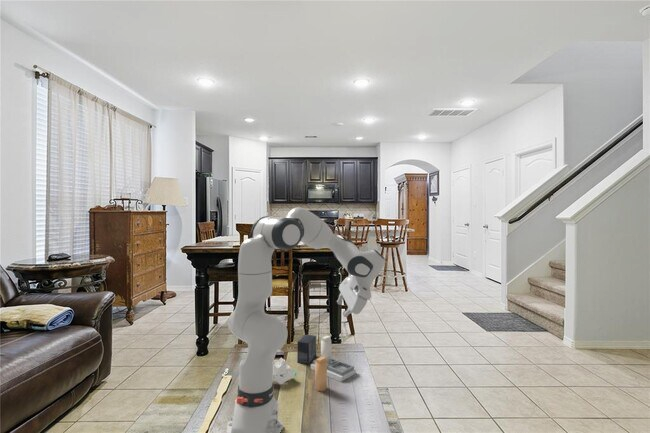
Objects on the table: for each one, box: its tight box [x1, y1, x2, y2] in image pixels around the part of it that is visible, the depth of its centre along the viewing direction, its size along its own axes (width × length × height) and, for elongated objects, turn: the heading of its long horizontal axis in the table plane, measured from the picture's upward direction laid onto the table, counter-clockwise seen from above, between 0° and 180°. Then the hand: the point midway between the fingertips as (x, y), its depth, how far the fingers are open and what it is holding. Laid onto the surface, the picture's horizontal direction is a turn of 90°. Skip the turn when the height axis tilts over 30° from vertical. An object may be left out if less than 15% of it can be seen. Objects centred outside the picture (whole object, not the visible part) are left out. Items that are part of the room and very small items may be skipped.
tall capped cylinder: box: [314, 356, 328, 392], centre depth 145 cm, size 5×5×12 cm
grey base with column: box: [310, 334, 357, 382], centre depth 161 cm, size 18×11×14 cm, turn 48°
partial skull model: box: [273, 357, 297, 386], centre depth 152 cm, size 12×9×10 cm
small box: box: [296, 334, 317, 365], centre depth 174 cm, size 11×6×10 cm, turn 162°
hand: (341, 309), depth 153 cm, fingers open, 8 cm apart
